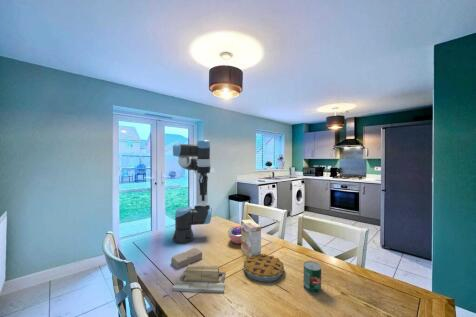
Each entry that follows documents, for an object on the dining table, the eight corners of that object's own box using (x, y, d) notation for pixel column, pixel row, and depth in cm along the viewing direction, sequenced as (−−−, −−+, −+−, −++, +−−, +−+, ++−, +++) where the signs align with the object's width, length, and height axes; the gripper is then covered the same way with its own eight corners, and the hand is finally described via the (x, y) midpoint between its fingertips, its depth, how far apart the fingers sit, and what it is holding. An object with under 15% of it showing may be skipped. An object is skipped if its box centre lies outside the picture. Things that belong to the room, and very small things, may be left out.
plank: (188, 276, 104) (188, 264, 104) (219, 277, 103) (219, 265, 103) (185, 282, 99) (185, 269, 99) (217, 283, 98) (217, 271, 98)
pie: (286, 264, 116) (286, 256, 116) (281, 288, 95) (281, 277, 95) (249, 258, 123) (249, 249, 123) (237, 278, 102) (237, 268, 102)
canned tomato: (307, 281, 100) (307, 259, 100) (323, 287, 95) (323, 264, 95) (300, 289, 94) (300, 265, 94) (318, 296, 89) (318, 272, 89)
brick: (177, 269, 110) (177, 261, 110) (170, 263, 116) (170, 255, 116) (202, 259, 122) (203, 251, 122) (195, 254, 128) (195, 247, 128)
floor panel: (182, 272, 107) (182, 270, 107) (227, 274, 105) (227, 272, 105) (172, 290, 93) (172, 287, 93) (223, 292, 91) (223, 290, 91)
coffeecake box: (240, 249, 134) (240, 220, 134) (250, 247, 137) (250, 218, 136) (251, 260, 120) (251, 227, 120) (261, 257, 123) (261, 226, 123)
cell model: (256, 239, 150) (256, 224, 150) (242, 250, 133) (242, 233, 133) (237, 234, 159) (237, 220, 159) (222, 244, 142) (222, 228, 142)
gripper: (200, 165, 126) (200, 203, 127) (194, 166, 113) (194, 208, 114) (212, 165, 126) (212, 203, 126) (207, 166, 113) (207, 208, 113)
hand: (203, 205), depth 120 cm, fingers closed
